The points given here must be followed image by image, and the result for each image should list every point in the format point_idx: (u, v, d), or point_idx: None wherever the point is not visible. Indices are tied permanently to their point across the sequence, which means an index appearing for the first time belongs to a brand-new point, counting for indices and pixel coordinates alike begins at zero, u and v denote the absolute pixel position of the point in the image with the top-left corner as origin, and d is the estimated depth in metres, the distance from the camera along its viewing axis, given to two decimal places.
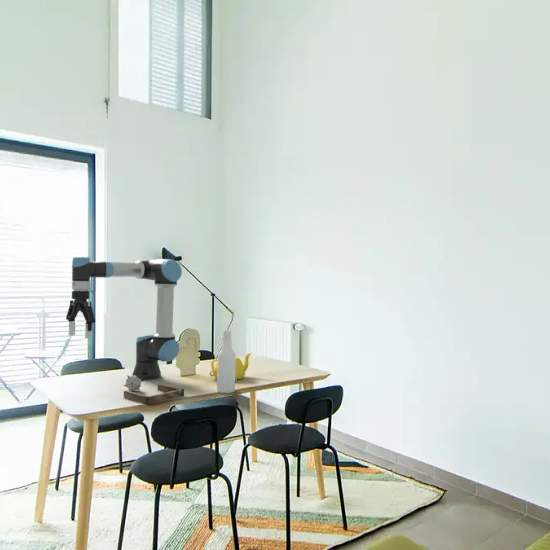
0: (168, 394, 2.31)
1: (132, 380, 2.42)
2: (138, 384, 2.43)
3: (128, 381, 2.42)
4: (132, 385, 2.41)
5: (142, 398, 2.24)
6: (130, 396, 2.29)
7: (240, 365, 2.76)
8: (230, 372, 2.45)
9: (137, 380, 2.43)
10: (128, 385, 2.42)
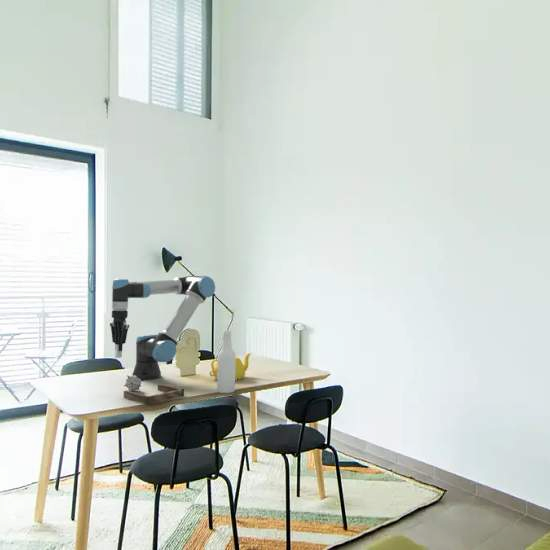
0: (168, 394, 2.31)
1: (132, 380, 2.42)
2: (138, 384, 2.43)
3: (128, 381, 2.42)
4: (132, 385, 2.41)
5: (142, 398, 2.24)
6: (130, 396, 2.29)
7: (240, 365, 2.76)
8: (230, 372, 2.45)
9: (137, 380, 2.43)
10: (128, 385, 2.42)
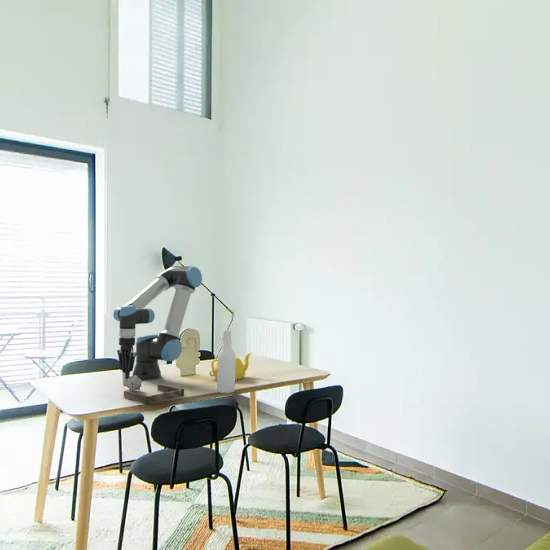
0: (168, 394, 2.31)
1: (133, 380, 2.42)
2: (139, 384, 2.42)
3: (128, 381, 2.42)
4: (133, 385, 2.41)
5: (142, 398, 2.24)
6: (130, 396, 2.29)
7: (240, 365, 2.76)
8: (230, 372, 2.45)
9: (138, 380, 2.43)
10: (128, 385, 2.42)
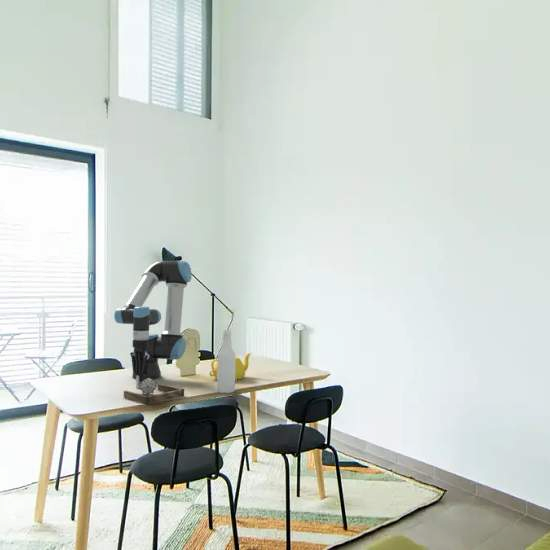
0: (168, 394, 2.31)
1: (148, 383, 2.36)
2: (154, 387, 2.37)
3: (143, 384, 2.36)
4: (148, 388, 2.35)
5: (142, 398, 2.24)
6: (130, 396, 2.29)
7: (240, 365, 2.76)
8: (230, 372, 2.45)
9: (152, 383, 2.37)
10: (143, 388, 2.36)
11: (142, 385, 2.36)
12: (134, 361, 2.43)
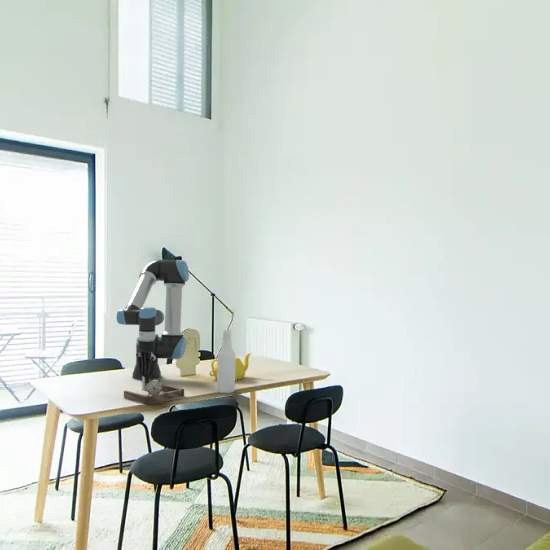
0: (168, 394, 2.31)
1: (154, 384, 2.33)
2: (160, 388, 2.35)
3: (150, 385, 2.33)
4: (154, 390, 2.33)
5: (142, 398, 2.24)
6: (130, 396, 2.29)
7: (240, 365, 2.76)
8: (230, 372, 2.45)
9: (159, 384, 2.35)
10: (150, 390, 2.33)
11: (148, 387, 2.33)
12: (140, 362, 2.40)
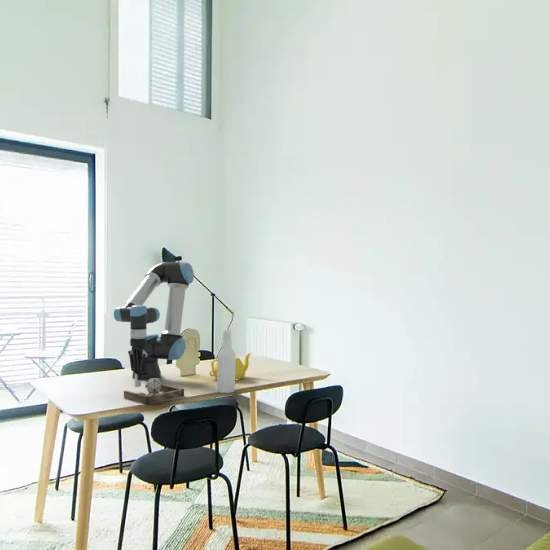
0: (168, 394, 2.31)
1: (154, 379, 2.38)
2: (160, 383, 2.38)
3: (150, 381, 2.38)
4: (155, 383, 2.36)
5: (142, 398, 2.24)
6: (130, 396, 2.29)
7: (240, 365, 2.76)
8: (230, 372, 2.45)
9: (159, 380, 2.39)
10: (150, 384, 2.36)
11: (148, 382, 2.37)
12: (132, 359, 2.45)
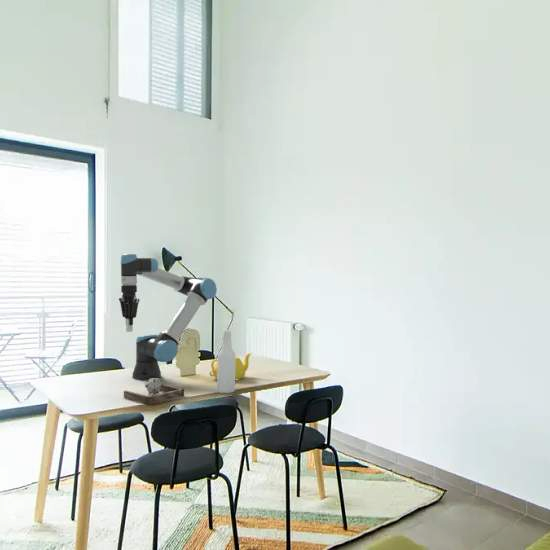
0: (168, 394, 2.31)
1: (154, 379, 2.38)
2: (160, 383, 2.38)
3: (150, 381, 2.38)
4: (155, 383, 2.36)
5: (142, 398, 2.24)
6: (130, 396, 2.29)
7: (240, 365, 2.76)
8: (230, 372, 2.45)
9: (159, 380, 2.39)
10: (150, 384, 2.36)
11: (148, 382, 2.37)
12: (123, 306, 2.56)
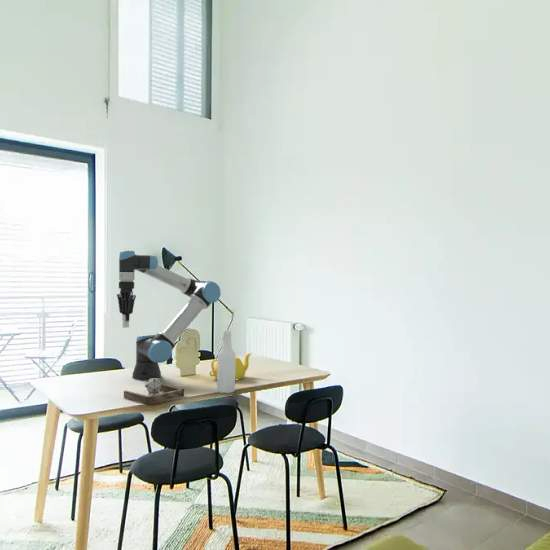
0: (168, 394, 2.31)
1: (154, 379, 2.38)
2: (160, 383, 2.38)
3: (150, 381, 2.38)
4: (155, 383, 2.36)
5: (142, 398, 2.24)
6: (130, 396, 2.29)
7: (240, 365, 2.76)
8: (230, 372, 2.45)
9: (159, 380, 2.39)
10: (150, 384, 2.36)
11: (148, 382, 2.37)
12: (120, 302, 2.59)
